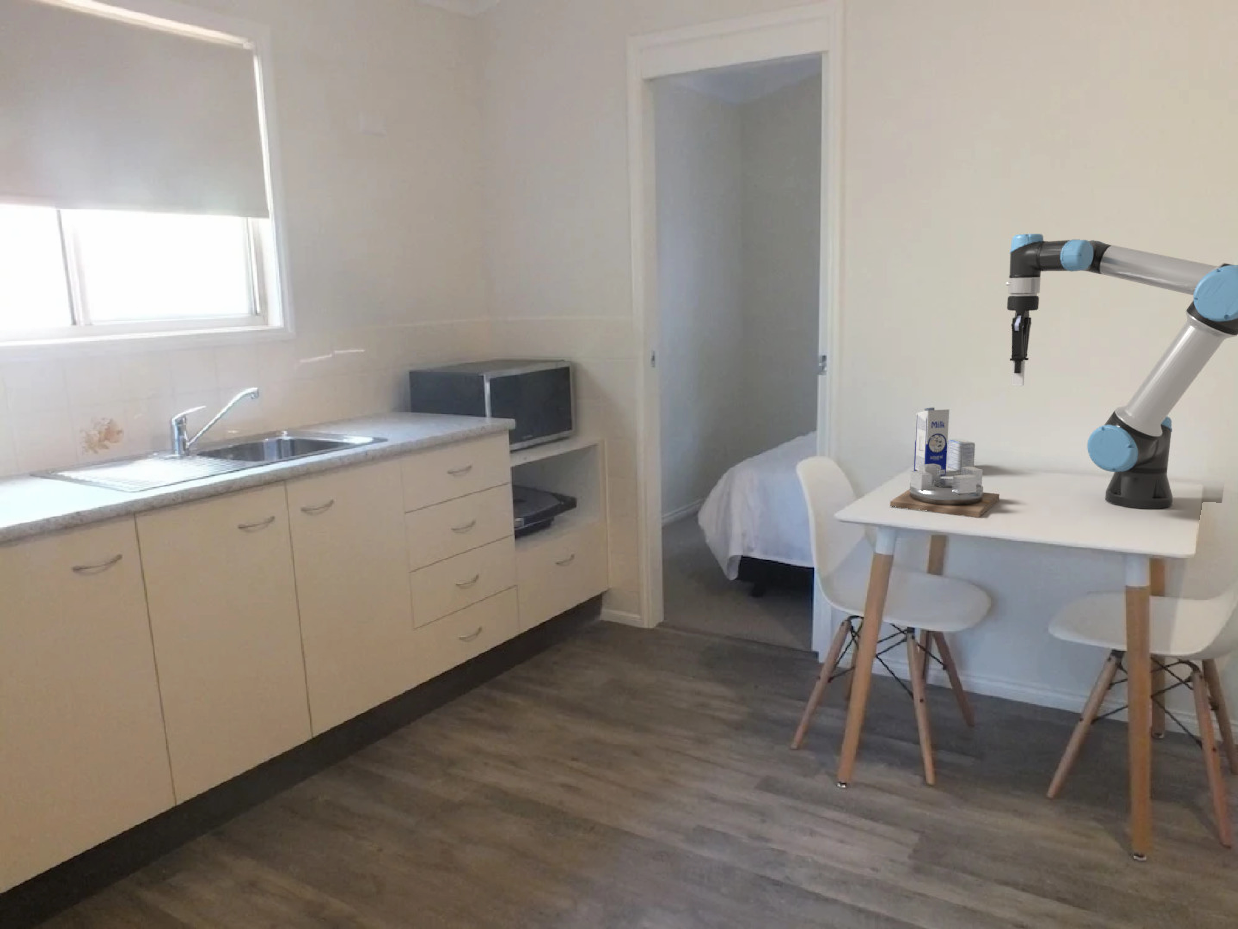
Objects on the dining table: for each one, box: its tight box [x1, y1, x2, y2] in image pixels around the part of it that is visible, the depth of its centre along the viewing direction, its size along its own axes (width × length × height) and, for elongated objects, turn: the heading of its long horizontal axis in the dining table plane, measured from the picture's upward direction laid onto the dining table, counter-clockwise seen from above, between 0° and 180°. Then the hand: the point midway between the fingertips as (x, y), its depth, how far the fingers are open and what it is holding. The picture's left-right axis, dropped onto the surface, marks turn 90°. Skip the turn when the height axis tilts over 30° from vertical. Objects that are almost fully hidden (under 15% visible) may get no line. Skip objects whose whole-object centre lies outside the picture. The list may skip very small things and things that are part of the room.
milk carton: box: [913, 407, 950, 477], centre depth 277 cm, size 7×7×20 cm
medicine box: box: [946, 438, 976, 472], centre depth 284 cm, size 8×4×9 cm, turn 14°
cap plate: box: [889, 488, 1000, 518], centre depth 243 cm, size 22×22×2 cm
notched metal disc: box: [909, 464, 984, 505], centre depth 242 cm, size 18×18×7 cm
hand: (1017, 385), depth 247 cm, fingers closed
